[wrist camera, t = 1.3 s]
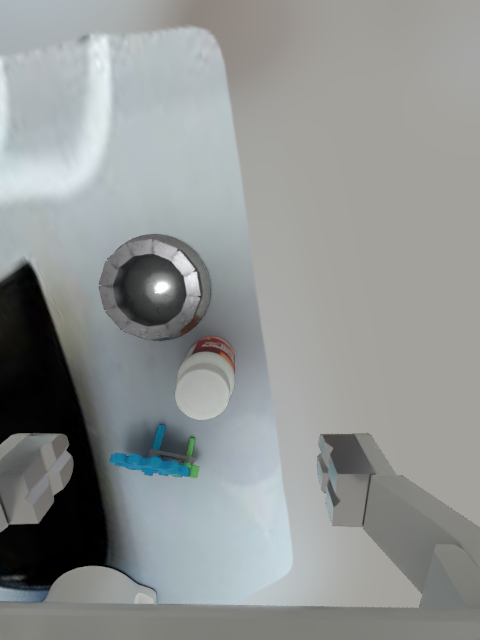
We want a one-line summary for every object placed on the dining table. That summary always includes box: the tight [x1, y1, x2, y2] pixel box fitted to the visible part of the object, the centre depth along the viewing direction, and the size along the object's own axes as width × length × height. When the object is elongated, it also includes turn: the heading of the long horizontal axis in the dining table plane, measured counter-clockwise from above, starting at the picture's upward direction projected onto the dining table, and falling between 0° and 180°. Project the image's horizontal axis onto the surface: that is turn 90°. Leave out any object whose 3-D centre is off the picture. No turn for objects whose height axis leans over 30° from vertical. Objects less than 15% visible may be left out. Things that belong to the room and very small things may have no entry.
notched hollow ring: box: [99, 234, 211, 341], centre depth 33 cm, size 13×13×4 cm
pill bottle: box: [175, 336, 235, 420], centre depth 31 cm, size 6×6×11 cm
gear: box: [109, 425, 199, 478], centre depth 37 cm, size 11×6×10 cm
